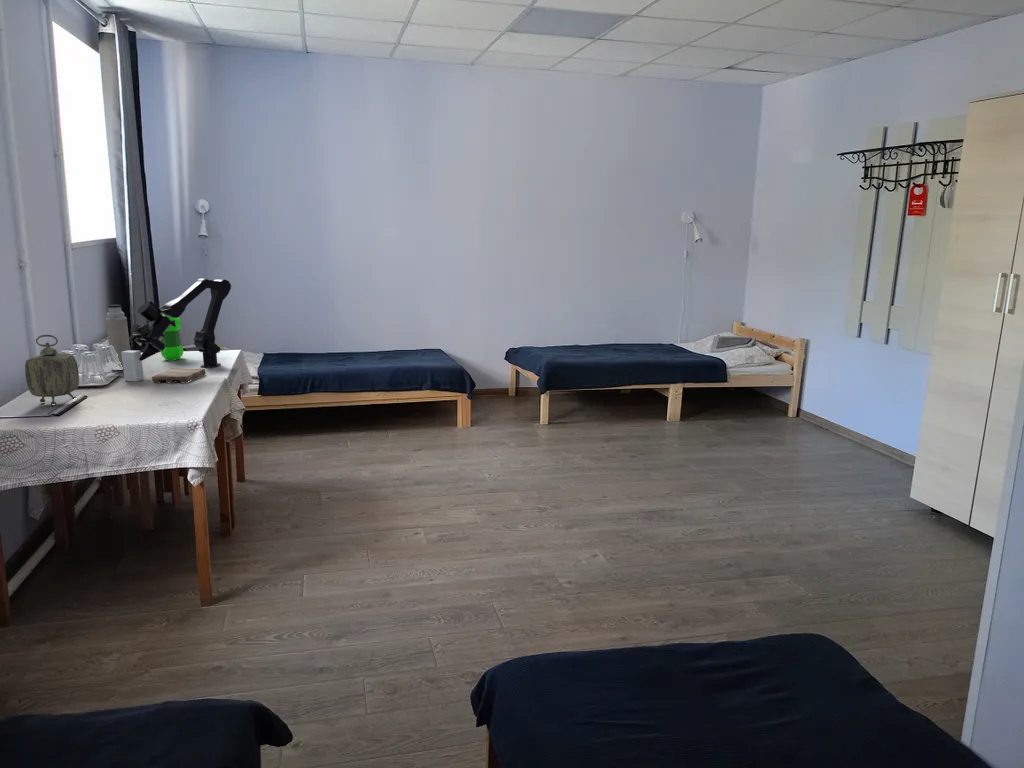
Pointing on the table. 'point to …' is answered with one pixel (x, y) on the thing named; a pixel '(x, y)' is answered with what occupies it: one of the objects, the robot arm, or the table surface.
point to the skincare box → (132, 365)
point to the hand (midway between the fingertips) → (134, 358)
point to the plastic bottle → (172, 341)
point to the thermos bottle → (117, 330)
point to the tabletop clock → (51, 373)
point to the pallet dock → (179, 375)
